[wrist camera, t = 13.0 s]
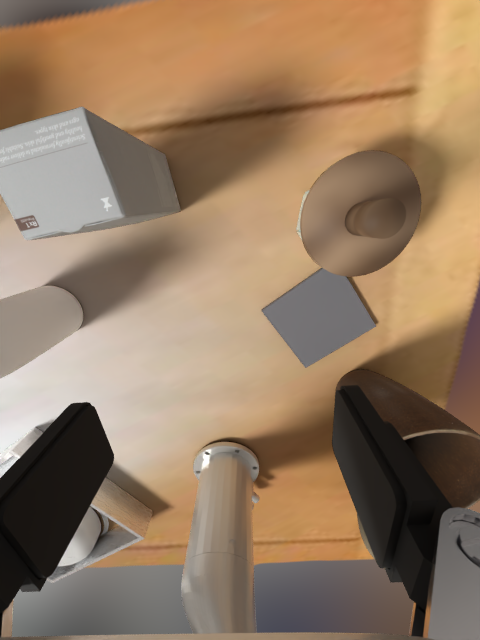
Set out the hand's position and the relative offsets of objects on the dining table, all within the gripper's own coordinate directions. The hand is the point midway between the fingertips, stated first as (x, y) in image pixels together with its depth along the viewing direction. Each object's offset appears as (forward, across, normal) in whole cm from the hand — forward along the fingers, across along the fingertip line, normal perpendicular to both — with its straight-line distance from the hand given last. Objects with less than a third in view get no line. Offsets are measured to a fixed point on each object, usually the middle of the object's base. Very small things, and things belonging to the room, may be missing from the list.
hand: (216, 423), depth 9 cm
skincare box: (+26, +10, -11) cm, 31 cm away
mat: (+26, -11, +7) cm, 30 cm away
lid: (+21, -14, -6) cm, 26 cm away
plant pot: (+26, -18, +20) cm, 38 cm away
